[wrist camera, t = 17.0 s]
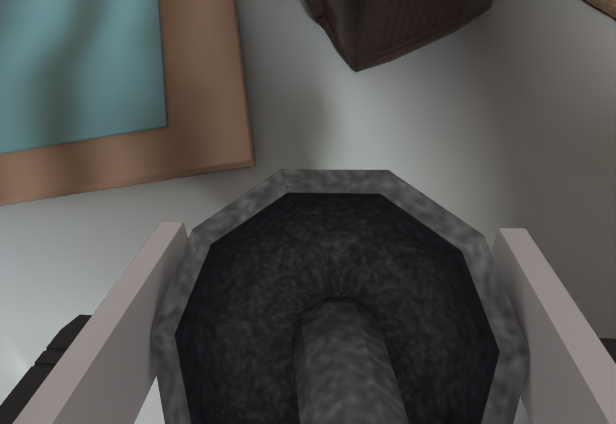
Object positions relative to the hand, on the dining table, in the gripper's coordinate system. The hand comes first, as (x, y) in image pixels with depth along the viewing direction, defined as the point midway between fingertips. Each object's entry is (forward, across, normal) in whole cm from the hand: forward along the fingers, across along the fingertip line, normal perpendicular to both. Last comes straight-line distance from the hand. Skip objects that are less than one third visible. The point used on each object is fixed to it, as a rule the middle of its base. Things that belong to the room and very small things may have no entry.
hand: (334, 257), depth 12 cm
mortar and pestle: (+1, 0, +6) cm, 6 cm away
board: (+16, +18, -3) cm, 24 cm away
